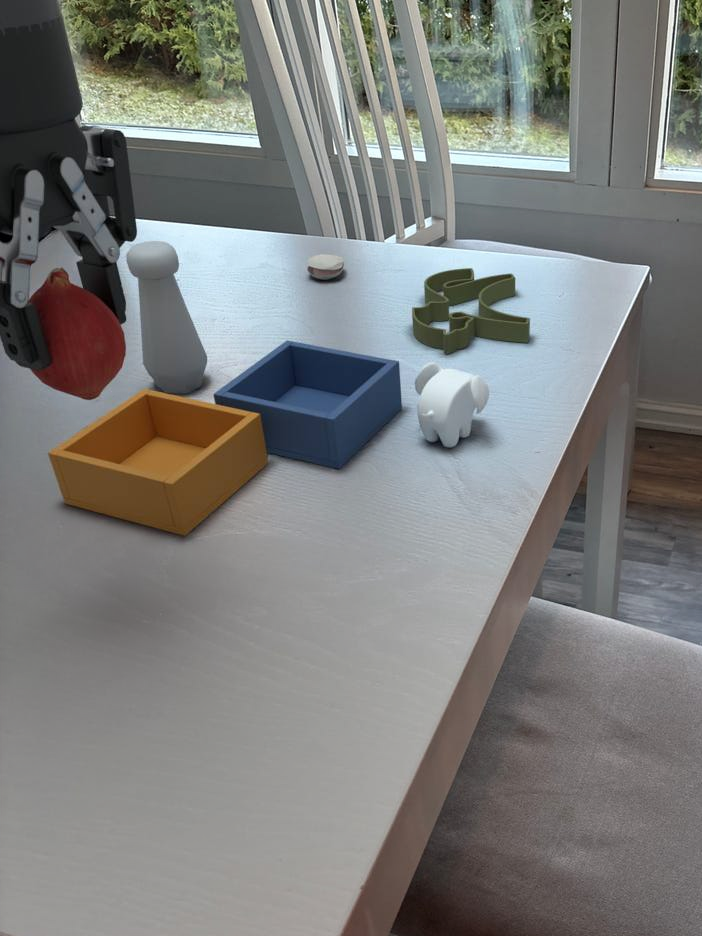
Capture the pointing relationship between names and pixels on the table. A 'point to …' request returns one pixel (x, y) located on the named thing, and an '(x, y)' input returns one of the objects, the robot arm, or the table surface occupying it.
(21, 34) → the robot arm
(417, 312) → the cookie cutter
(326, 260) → the macaroon
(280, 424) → the blue bin
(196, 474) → the ochre bin
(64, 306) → the red pomegranate
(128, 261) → the salt shaker
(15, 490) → the table surface
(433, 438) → the elephant figurine
